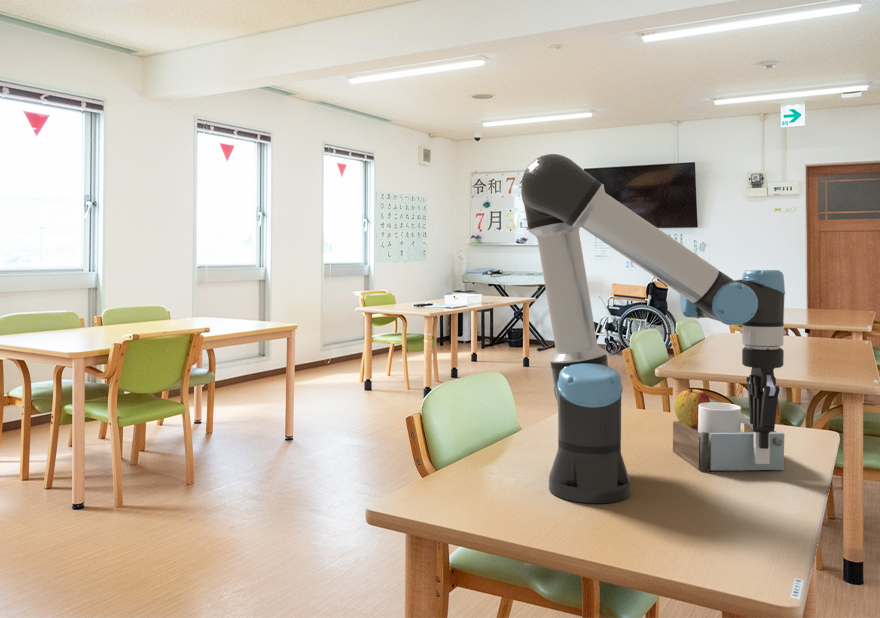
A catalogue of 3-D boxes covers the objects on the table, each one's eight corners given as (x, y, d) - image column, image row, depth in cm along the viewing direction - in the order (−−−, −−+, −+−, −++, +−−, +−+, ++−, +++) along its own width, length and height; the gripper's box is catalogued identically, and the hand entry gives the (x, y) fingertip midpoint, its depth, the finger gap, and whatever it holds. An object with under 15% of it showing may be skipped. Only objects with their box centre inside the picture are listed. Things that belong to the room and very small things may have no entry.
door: (713, 472, 142) (713, 435, 141) (708, 468, 144) (709, 432, 143) (786, 471, 142) (787, 434, 141) (781, 468, 144) (782, 432, 143)
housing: (701, 472, 142) (702, 434, 142) (672, 451, 158) (673, 416, 157) (787, 470, 143) (788, 432, 143) (749, 449, 159) (750, 415, 158)
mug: (750, 465, 144) (752, 414, 143) (692, 455, 151) (693, 407, 150) (761, 455, 150) (762, 407, 150) (704, 447, 158) (705, 400, 157)
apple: (710, 431, 176) (711, 392, 175) (672, 429, 179) (673, 390, 178) (710, 423, 184) (710, 386, 184) (674, 421, 187) (674, 384, 187)
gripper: (794, 350, 132) (792, 472, 133) (771, 343, 145) (770, 455, 146) (752, 350, 133) (751, 471, 134) (734, 343, 146) (733, 454, 147)
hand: (761, 462), depth 140 cm, fingers closed
